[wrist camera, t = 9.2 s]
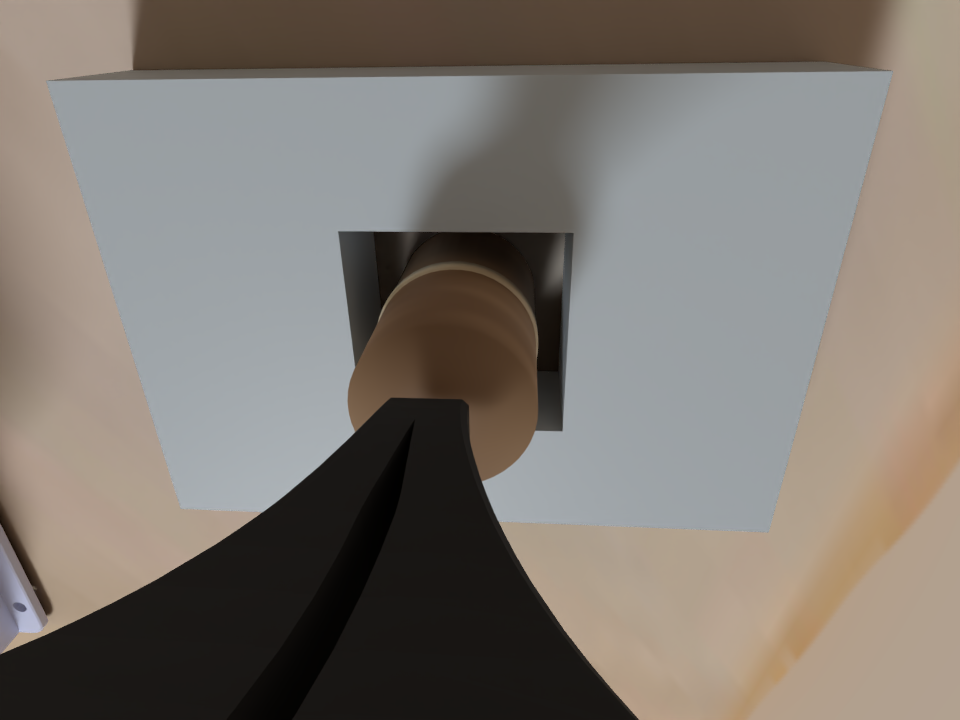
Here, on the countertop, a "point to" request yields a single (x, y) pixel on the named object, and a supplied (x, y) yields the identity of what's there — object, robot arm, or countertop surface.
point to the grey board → (483, 208)
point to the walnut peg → (459, 343)
